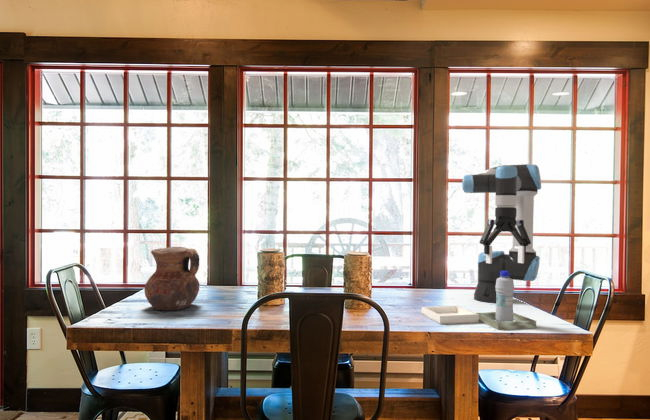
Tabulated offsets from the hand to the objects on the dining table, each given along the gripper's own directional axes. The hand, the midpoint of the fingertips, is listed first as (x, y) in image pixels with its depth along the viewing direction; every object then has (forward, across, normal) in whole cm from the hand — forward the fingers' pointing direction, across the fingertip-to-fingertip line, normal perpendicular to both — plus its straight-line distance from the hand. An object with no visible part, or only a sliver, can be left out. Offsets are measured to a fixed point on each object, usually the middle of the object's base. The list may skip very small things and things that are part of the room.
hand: (505, 263), depth 172 cm
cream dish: (+23, +17, -11) cm, 30 cm away
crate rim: (+23, 0, 0) cm, 23 cm away
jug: (+24, +125, -49) cm, 136 cm away
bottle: (+23, 0, 0) cm, 23 cm away
